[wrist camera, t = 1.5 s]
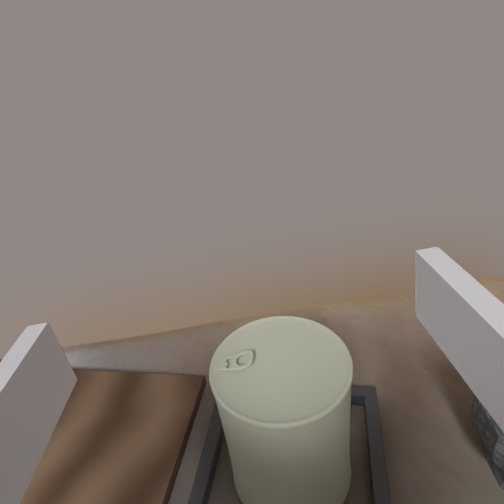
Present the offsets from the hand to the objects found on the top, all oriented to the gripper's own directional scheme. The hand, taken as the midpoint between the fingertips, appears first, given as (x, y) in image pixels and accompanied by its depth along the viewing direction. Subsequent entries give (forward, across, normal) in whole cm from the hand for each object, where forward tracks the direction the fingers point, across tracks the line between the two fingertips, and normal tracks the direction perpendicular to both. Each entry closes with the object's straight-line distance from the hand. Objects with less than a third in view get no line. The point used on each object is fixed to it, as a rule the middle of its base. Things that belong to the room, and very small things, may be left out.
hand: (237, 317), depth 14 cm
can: (+8, 0, -21) cm, 23 cm away
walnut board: (+13, -16, -19) cm, 28 cm away
